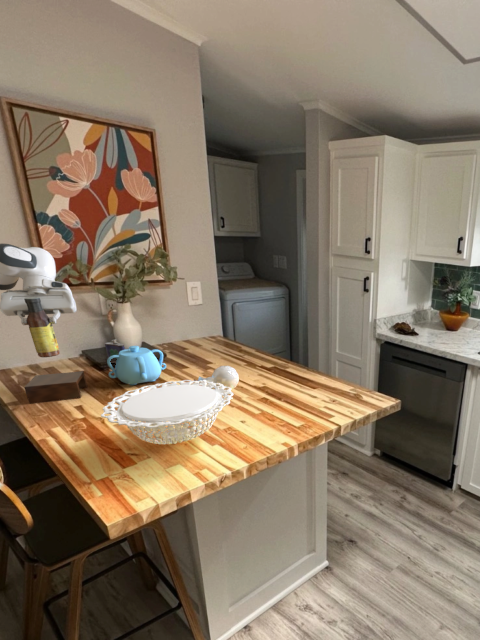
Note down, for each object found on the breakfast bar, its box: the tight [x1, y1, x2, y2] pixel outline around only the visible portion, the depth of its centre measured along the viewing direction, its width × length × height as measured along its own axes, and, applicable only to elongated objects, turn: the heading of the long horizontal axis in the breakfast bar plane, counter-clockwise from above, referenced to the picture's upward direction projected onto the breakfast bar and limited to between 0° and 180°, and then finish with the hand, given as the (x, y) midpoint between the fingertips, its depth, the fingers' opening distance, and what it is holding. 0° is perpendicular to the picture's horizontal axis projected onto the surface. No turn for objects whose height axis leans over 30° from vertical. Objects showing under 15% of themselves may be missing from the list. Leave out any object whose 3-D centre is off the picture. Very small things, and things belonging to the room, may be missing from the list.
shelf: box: [23, 370, 88, 405], centre depth 142 cm, size 14×12×6 cm
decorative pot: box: [106, 345, 167, 386], centre depth 156 cm, size 16×16×14 cm
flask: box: [104, 338, 126, 359], centre depth 173 cm, size 9×3×11 cm, turn 74°
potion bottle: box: [193, 365, 240, 391], centre depth 149 cm, size 9×10×15 cm
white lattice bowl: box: [100, 379, 235, 446], centre depth 113 cm, size 32×32×13 cm
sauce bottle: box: [24, 297, 60, 358], centre depth 138 cm, size 7×6×20 cm
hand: (39, 323), depth 137 cm, fingers closed on sauce bottle, 6 cm apart
